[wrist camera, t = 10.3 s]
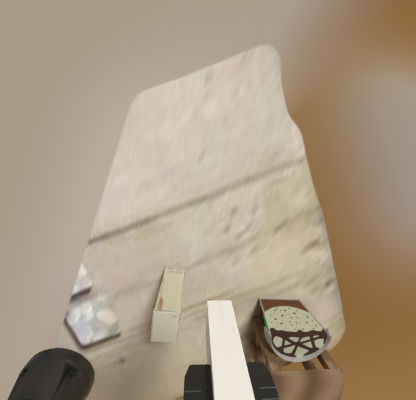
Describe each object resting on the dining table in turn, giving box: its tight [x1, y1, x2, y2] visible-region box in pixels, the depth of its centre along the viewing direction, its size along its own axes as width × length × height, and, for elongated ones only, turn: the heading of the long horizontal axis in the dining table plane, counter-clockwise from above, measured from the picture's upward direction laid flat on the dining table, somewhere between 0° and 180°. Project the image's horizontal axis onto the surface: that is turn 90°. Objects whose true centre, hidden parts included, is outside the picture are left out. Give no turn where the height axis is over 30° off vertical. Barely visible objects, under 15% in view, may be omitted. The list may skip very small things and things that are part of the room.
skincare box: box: [151, 267, 185, 344], centre depth 37 cm, size 6×4×12 cm
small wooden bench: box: [250, 317, 345, 400], centre depth 41 cm, size 13×8×13 cm, turn 88°
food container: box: [259, 298, 332, 362], centre depth 42 cm, size 12×6×10 cm, turn 85°
